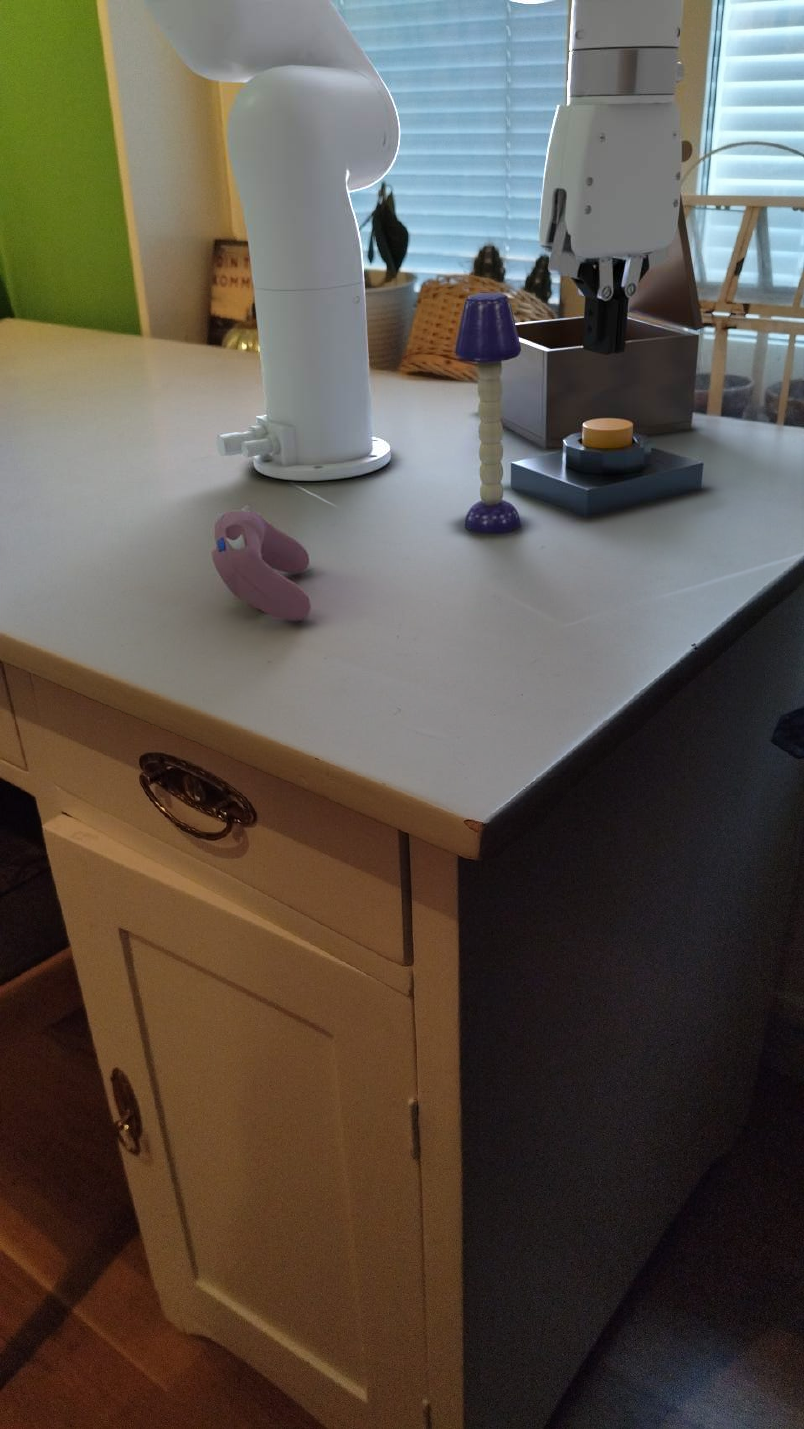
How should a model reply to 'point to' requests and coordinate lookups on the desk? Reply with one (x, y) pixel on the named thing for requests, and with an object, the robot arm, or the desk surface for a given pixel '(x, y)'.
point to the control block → (605, 476)
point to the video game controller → (260, 564)
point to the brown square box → (598, 380)
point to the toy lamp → (489, 401)
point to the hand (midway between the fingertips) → (603, 350)
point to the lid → (671, 280)
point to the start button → (607, 433)
